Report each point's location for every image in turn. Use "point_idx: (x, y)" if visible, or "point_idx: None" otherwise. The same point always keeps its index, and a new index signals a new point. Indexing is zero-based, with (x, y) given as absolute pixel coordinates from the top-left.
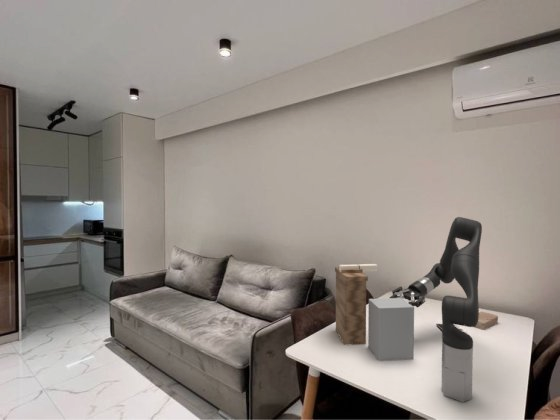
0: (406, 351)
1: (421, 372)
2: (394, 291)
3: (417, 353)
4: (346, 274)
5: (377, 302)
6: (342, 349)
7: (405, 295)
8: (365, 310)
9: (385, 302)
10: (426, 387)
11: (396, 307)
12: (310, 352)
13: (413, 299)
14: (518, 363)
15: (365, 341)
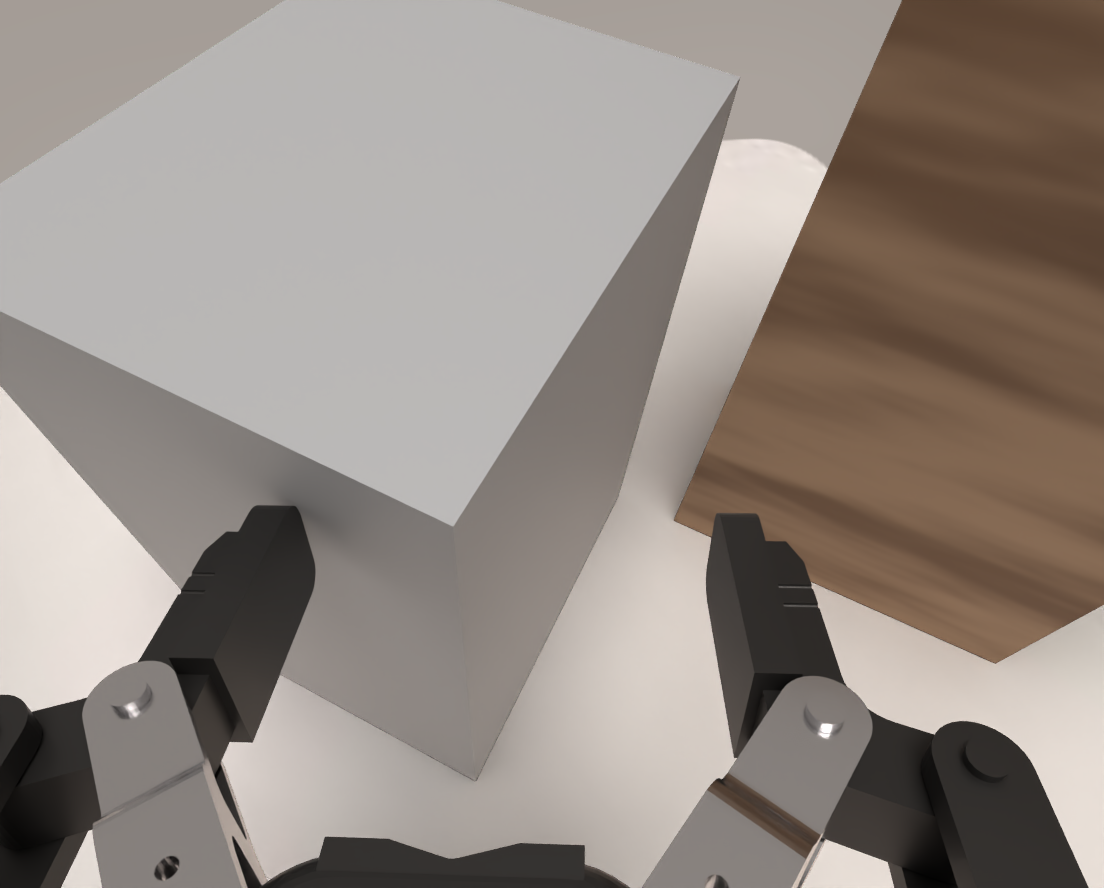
0: None
1: (92, 518)
2: (960, 779)
3: (257, 790)
4: None
5: (533, 56)
6: (678, 333)
7: (501, 855)
8: (776, 289)
9: (458, 119)
10: (2, 396)
11: (180, 74)
12: (729, 193)
13: (113, 780)
14: None
15: (680, 506)
